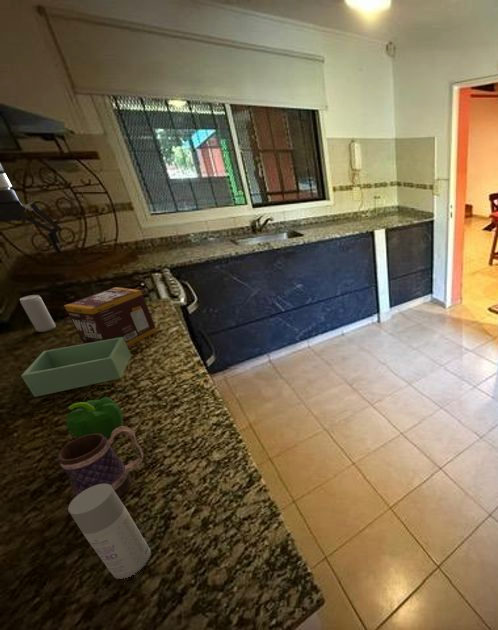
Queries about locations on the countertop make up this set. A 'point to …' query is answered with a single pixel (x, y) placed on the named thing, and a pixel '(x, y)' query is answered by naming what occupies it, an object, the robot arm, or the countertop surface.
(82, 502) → the container
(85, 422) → the bell pepper
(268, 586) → the countertop surface
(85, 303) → the supplement box
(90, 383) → the basin
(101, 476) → the mug
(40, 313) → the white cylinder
